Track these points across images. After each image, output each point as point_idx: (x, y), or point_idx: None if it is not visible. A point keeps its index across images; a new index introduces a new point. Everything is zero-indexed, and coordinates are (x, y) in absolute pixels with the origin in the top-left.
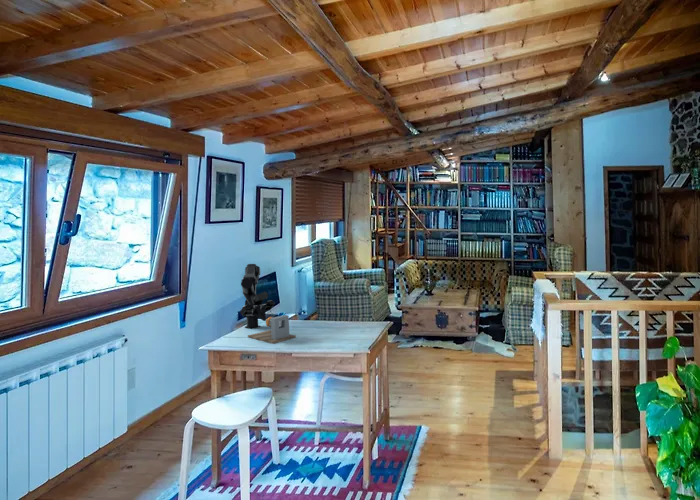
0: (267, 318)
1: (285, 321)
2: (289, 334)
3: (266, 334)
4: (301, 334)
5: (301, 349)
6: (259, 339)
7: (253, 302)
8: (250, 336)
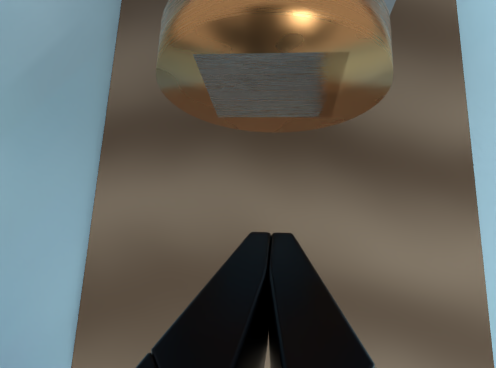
0: (362, 14)
1: None
2: (130, 25)
3: None
4: (10, 22)
5: None
6: (466, 156)
7: None
8: (491, 357)
